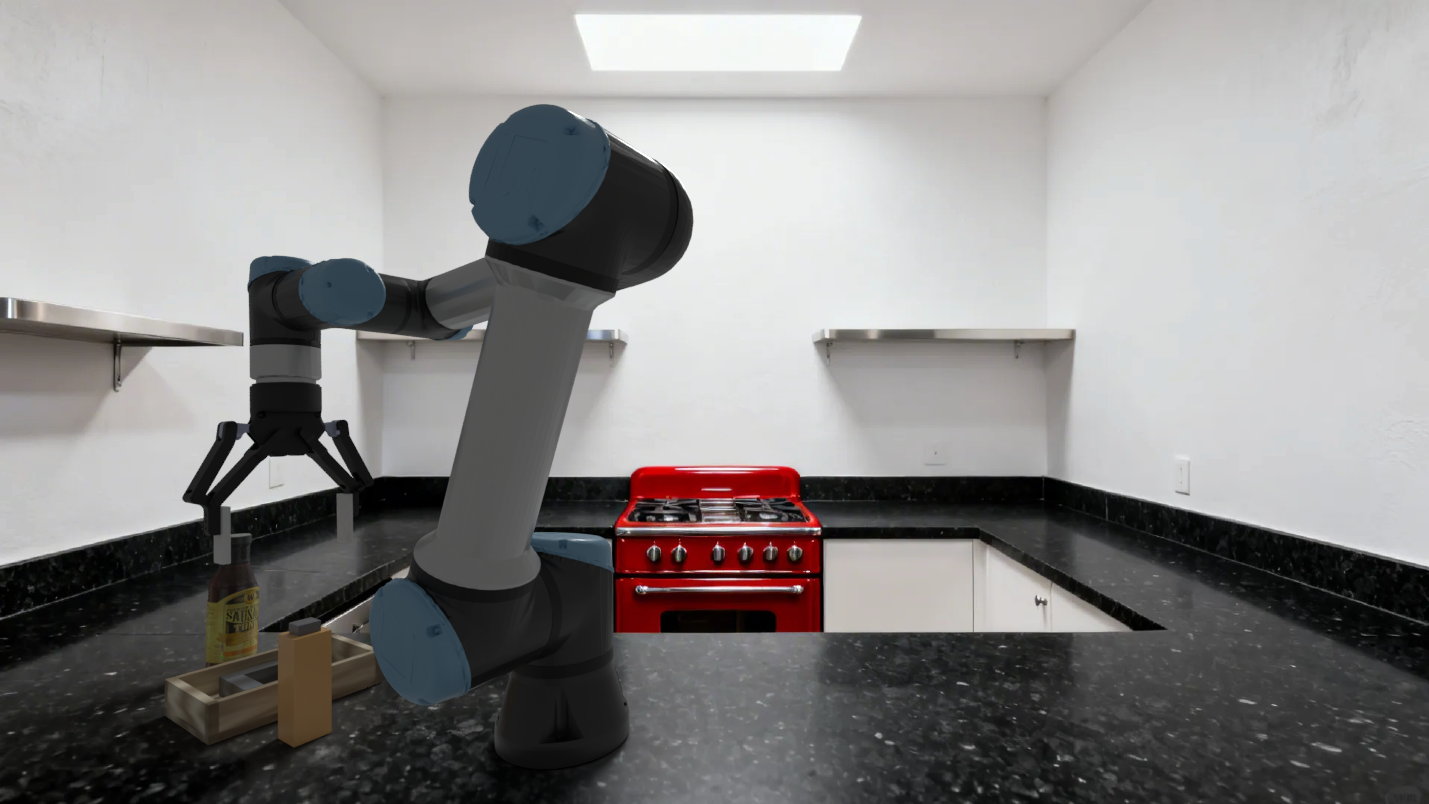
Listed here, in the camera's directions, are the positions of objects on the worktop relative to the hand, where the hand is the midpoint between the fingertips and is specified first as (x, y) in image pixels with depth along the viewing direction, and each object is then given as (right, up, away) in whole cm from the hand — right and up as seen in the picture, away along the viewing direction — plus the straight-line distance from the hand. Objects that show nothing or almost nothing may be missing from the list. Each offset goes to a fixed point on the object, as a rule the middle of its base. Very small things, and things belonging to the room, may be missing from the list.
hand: (288, 552), depth 78 cm
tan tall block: (+5, -20, -5) cm, 21 cm away
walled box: (-5, -21, +5) cm, 22 cm away
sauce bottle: (-19, -21, +16) cm, 33 cm away
